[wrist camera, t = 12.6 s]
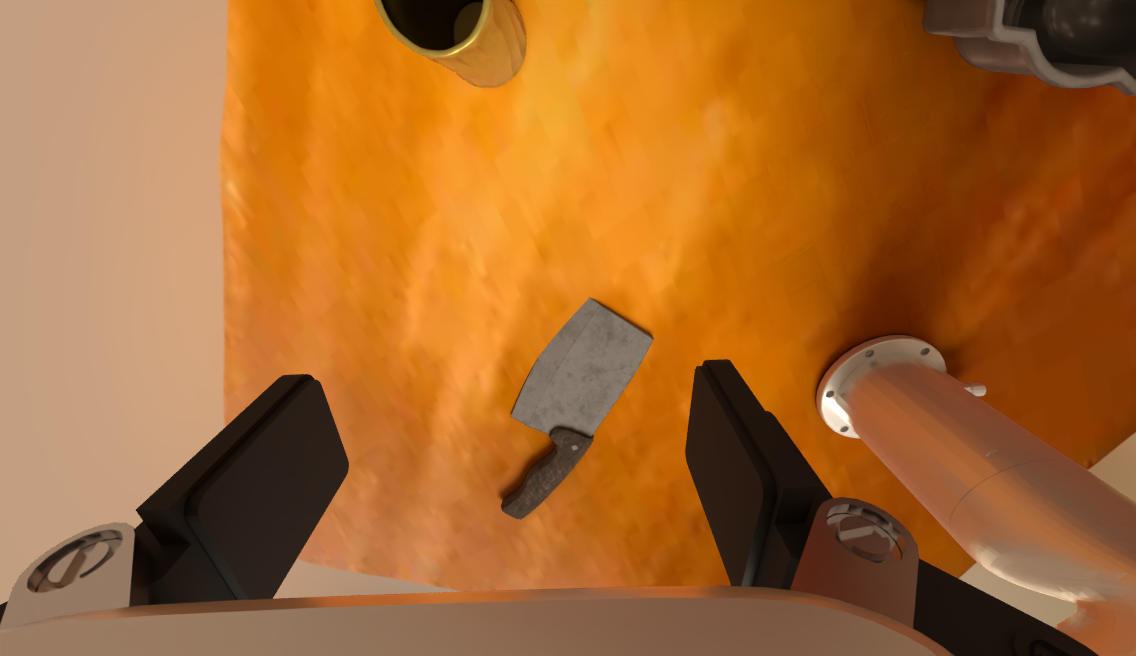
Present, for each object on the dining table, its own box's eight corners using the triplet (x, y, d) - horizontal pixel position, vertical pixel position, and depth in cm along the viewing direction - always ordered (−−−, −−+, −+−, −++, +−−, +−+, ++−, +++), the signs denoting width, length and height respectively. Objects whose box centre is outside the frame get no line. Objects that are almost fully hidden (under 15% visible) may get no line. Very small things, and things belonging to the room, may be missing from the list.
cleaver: (540, 514, 53) (539, 528, 51) (467, 490, 51) (463, 505, 49) (660, 325, 42) (665, 335, 40) (573, 286, 40) (573, 294, 38)
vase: (467, 102, 32) (406, 91, 20) (426, 11, 30) (325, -69, 17) (540, 67, 31) (525, 33, 19) (504, -30, 29) (458, -147, 16)
